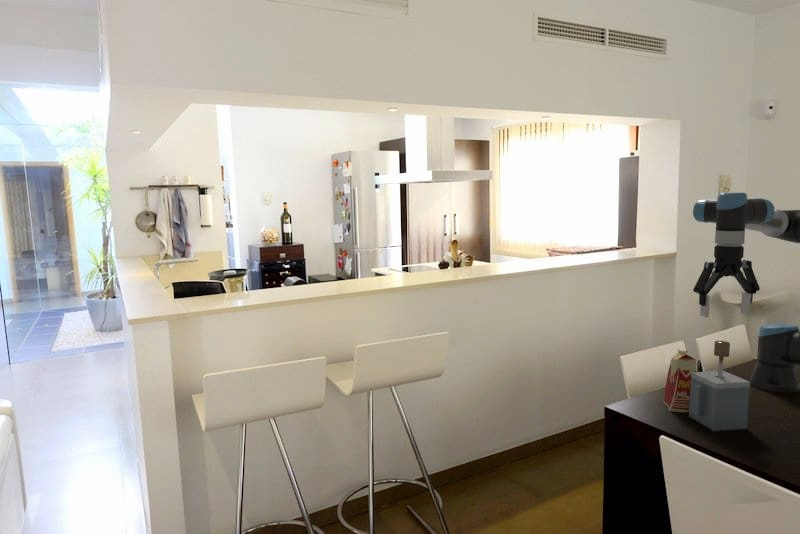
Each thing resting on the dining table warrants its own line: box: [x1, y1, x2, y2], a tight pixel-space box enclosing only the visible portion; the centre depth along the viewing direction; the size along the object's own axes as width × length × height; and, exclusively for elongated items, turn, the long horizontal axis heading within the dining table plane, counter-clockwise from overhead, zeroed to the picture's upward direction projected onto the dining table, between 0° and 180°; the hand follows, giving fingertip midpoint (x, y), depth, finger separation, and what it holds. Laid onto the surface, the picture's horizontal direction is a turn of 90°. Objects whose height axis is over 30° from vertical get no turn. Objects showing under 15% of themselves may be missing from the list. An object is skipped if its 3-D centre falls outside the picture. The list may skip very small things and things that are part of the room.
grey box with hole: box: [688, 370, 751, 432], centre depth 168 cm, size 13×11×14 cm
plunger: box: [713, 340, 731, 378], centre depth 168 cm, size 8×8×24 cm
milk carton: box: [663, 349, 697, 413], centre depth 181 cm, size 9×9×20 cm
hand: (725, 315), depth 166 cm, fingers open, 13 cm apart
